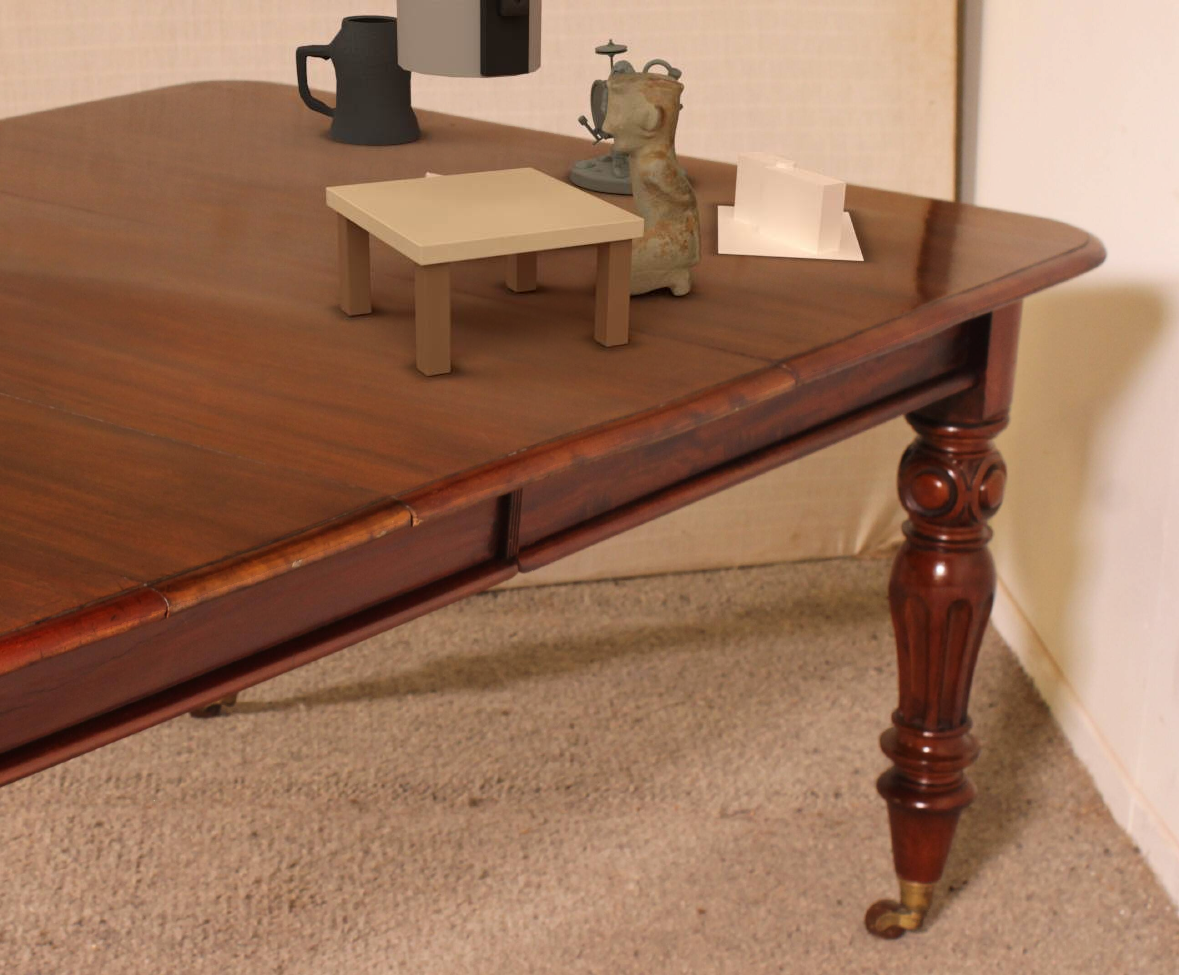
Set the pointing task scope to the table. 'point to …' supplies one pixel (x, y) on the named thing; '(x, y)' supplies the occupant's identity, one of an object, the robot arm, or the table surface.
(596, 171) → the figurine
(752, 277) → the table surface
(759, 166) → the napkin holder
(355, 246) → the side table
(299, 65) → the mug
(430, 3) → the cup
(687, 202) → the sculpture
